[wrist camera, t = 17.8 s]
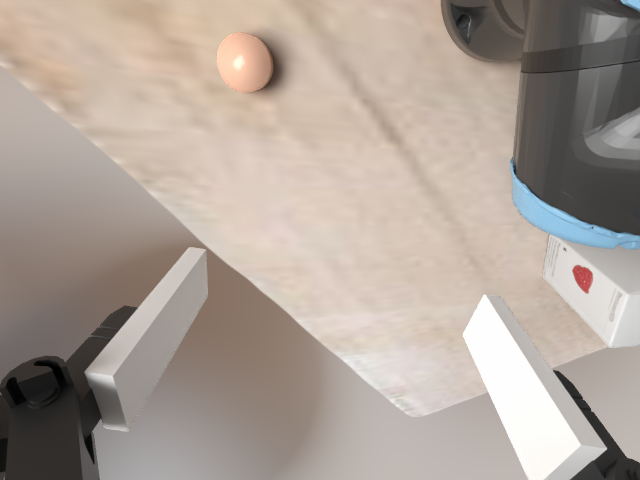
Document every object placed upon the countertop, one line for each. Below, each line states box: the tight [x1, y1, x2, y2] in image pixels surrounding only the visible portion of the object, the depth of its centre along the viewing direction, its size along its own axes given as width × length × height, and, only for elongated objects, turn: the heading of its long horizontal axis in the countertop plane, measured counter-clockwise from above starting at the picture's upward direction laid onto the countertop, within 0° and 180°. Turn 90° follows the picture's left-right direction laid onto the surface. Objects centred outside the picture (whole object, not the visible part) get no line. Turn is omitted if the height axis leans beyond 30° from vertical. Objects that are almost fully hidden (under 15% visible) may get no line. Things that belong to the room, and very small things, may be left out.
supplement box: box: [542, 234, 640, 348], centre depth 42 cm, size 9×9×15 cm
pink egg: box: [217, 33, 273, 93], centre depth 37 cm, size 6×6×3 cm
